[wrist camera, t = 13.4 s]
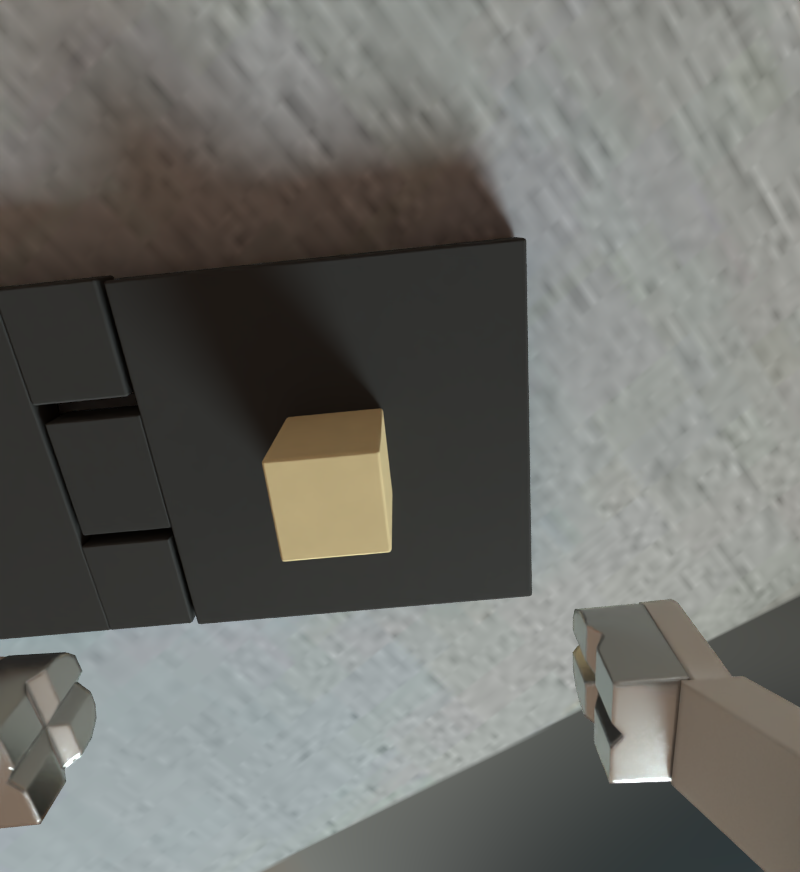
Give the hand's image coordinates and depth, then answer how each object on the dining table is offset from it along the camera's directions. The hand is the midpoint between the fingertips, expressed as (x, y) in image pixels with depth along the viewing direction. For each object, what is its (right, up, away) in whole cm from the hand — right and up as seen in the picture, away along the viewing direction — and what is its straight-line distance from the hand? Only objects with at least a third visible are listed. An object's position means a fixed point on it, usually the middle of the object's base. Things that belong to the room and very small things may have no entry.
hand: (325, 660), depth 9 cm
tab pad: (-2, +3, +10) cm, 11 cm away
